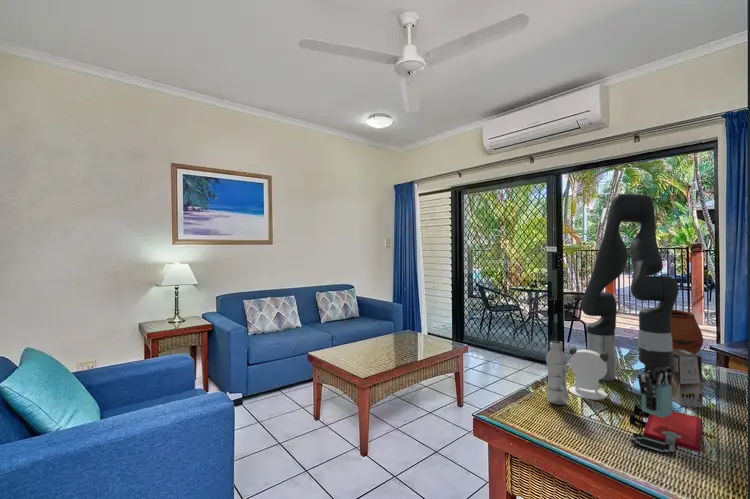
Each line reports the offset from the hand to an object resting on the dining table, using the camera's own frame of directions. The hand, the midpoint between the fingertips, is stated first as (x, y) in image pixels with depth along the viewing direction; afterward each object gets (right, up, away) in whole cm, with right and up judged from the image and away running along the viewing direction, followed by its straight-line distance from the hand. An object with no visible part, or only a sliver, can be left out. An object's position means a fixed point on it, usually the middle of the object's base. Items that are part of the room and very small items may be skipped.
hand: (656, 407), depth 99 cm
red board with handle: (+1, -7, -1) cm, 7 cm away
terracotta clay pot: (+40, -6, +42) cm, 59 cm away
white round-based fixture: (-4, -6, +25) cm, 26 cm away
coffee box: (+23, -6, +17) cm, 29 cm away
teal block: (0, -1, 0) cm, 1 cm away
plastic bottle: (-19, -6, +17) cm, 26 cm away
